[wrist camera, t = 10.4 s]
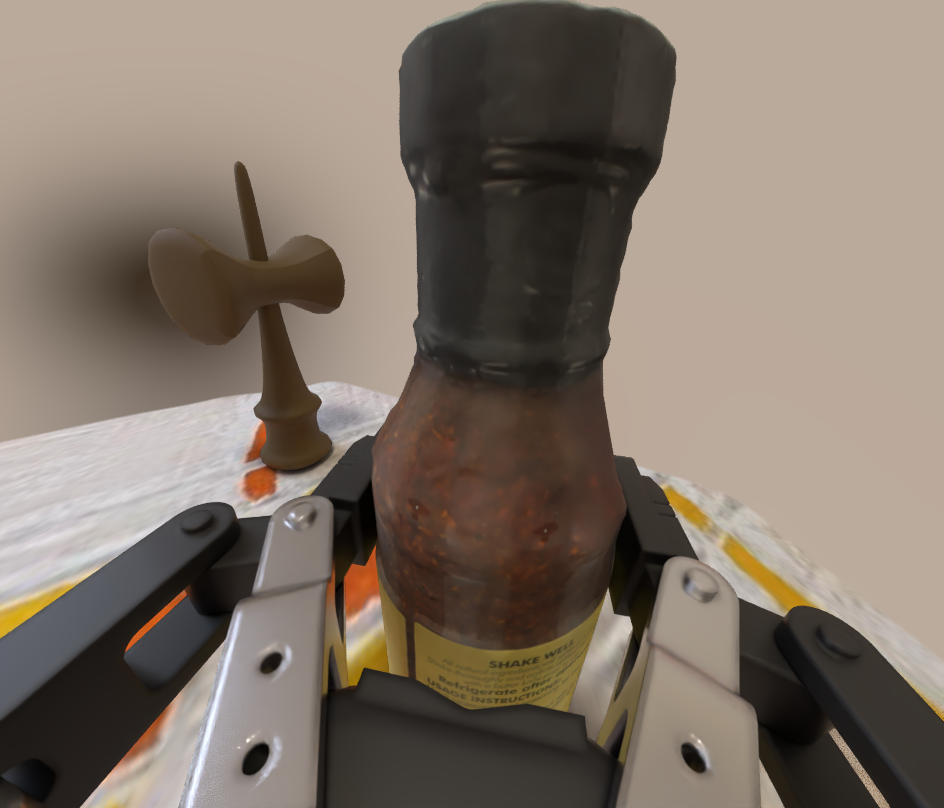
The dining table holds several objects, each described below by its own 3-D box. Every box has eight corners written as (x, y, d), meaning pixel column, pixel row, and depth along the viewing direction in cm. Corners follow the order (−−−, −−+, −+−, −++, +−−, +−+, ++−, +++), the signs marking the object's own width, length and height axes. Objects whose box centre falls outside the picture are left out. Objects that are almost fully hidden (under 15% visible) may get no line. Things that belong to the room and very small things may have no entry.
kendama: (214, 479, 25) (92, 140, 16) (314, 420, 33) (273, 173, 24) (276, 505, 23) (179, 139, 14) (365, 436, 31) (342, 176, 22)
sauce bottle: (576, 708, 14) (852, 99, 5) (483, 905, 10) (1161, -673, 1) (462, 603, 18) (507, 137, 9) (358, 714, 14) (237, 23, 5)
